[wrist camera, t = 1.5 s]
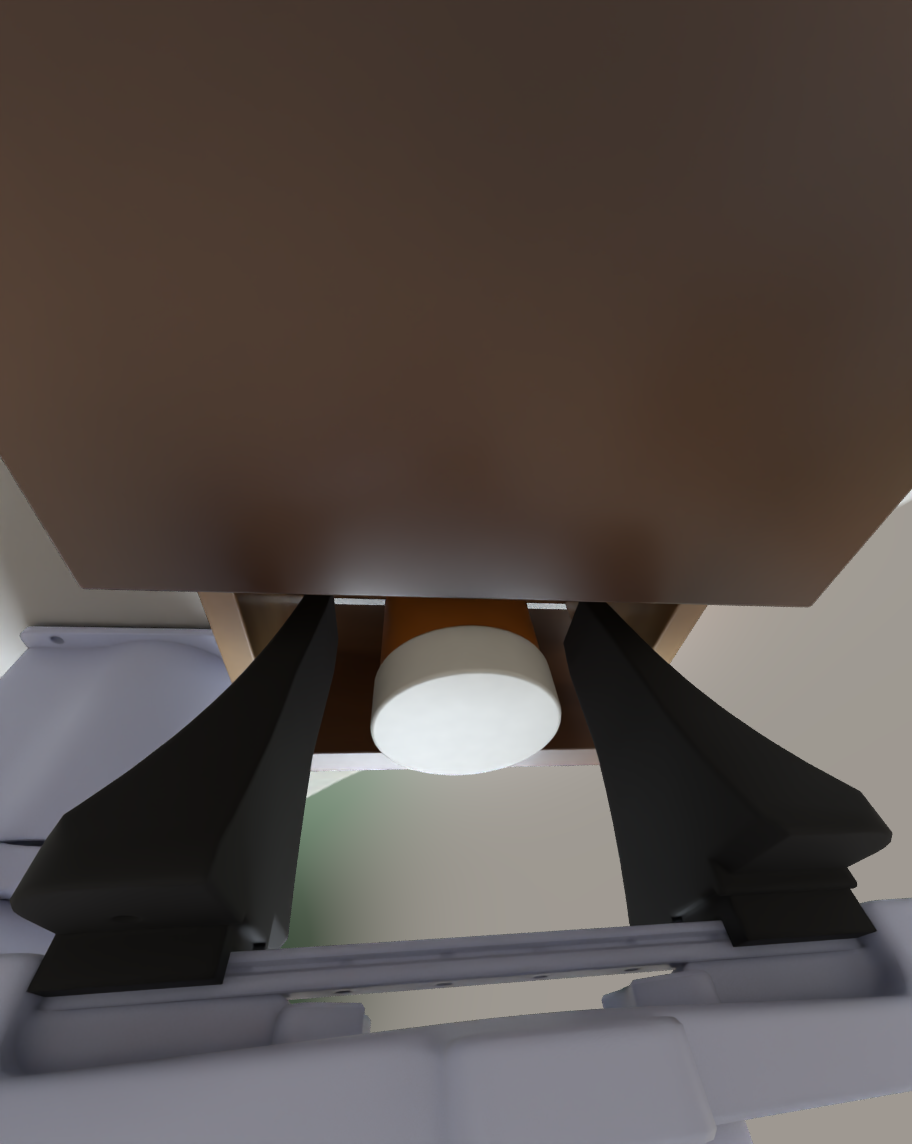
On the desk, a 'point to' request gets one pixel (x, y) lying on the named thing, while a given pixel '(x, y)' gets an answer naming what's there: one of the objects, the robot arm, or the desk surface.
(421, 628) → the pill bottle
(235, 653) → the drawer
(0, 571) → the desk surface
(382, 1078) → the robot arm
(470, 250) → the cabinet
